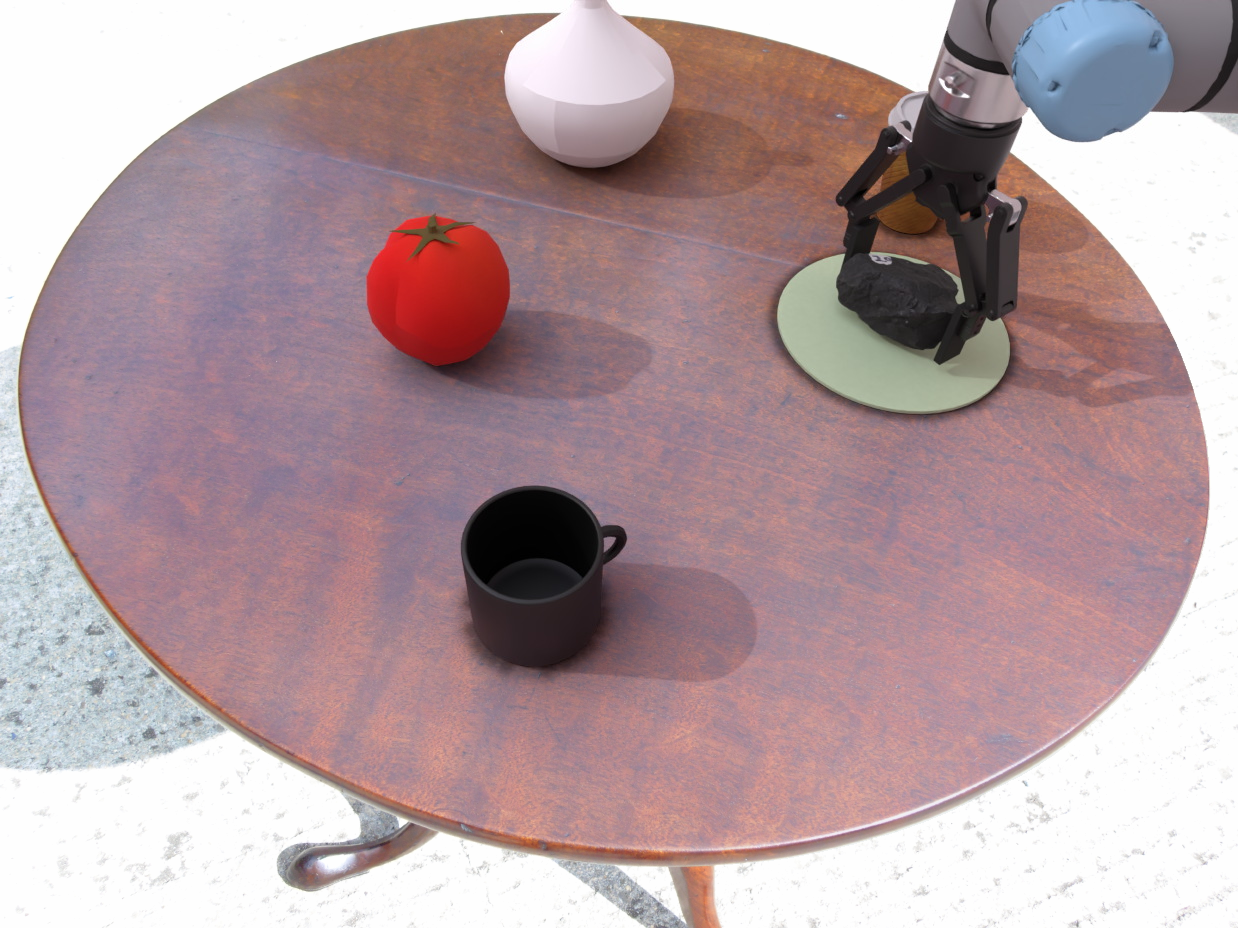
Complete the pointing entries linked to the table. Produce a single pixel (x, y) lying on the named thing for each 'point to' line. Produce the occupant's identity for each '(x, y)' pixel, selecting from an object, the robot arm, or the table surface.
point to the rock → (899, 298)
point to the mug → (536, 573)
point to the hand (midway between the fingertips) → (896, 316)
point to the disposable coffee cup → (906, 210)
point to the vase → (589, 86)
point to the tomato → (438, 289)
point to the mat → (882, 350)
